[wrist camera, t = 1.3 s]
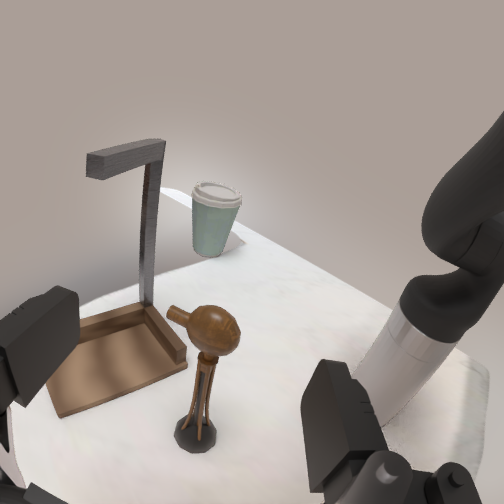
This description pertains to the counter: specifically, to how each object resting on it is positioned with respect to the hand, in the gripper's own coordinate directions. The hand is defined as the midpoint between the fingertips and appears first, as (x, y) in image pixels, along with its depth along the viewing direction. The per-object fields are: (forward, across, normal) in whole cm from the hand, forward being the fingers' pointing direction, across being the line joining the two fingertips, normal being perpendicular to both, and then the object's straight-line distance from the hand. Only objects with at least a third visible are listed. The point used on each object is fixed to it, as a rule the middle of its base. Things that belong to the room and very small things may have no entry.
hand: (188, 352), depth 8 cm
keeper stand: (+20, +13, +22) cm, 32 cm away
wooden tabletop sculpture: (+13, 0, +23) cm, 27 cm away
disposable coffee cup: (+55, +6, +16) cm, 57 cm away
